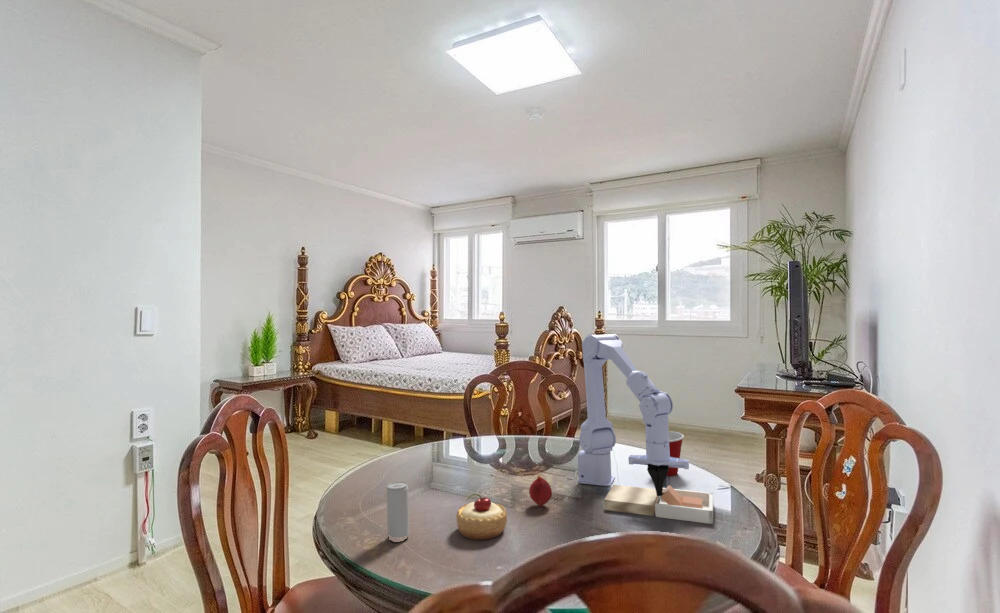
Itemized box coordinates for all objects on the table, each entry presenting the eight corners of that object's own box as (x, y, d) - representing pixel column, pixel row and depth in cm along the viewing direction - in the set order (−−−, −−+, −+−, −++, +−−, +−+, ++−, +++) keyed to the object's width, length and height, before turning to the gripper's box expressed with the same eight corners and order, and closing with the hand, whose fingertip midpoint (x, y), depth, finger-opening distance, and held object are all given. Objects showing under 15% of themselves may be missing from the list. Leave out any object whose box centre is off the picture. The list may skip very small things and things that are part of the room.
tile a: (660, 497, 121) (668, 490, 120) (662, 491, 125) (669, 484, 124) (675, 511, 119) (682, 505, 119) (676, 505, 124) (683, 498, 123)
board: (604, 509, 123) (604, 499, 123) (613, 493, 134) (613, 484, 134) (654, 516, 118) (653, 505, 118) (659, 499, 129) (658, 489, 129)
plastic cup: (641, 471, 153) (639, 432, 153) (669, 466, 157) (667, 429, 157) (664, 481, 143) (662, 440, 143) (693, 476, 147) (691, 436, 147)
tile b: (682, 512, 118) (682, 502, 119) (683, 506, 123) (683, 496, 123) (702, 515, 117) (702, 504, 117) (702, 508, 121) (702, 498, 121)
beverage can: (389, 534, 112) (388, 482, 112) (410, 533, 112) (409, 481, 113) (386, 544, 107) (385, 489, 107) (408, 542, 107) (406, 487, 108)
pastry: (512, 541, 108) (512, 501, 108) (459, 546, 105) (459, 506, 105) (501, 518, 120) (501, 482, 120) (453, 523, 117) (453, 486, 117)
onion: (554, 503, 128) (553, 472, 128) (549, 511, 123) (548, 479, 123) (533, 501, 130) (532, 471, 130) (527, 509, 125) (526, 477, 125)
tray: (655, 516, 117) (655, 504, 117) (660, 498, 129) (660, 487, 129) (713, 524, 112) (712, 511, 112) (713, 504, 124) (712, 492, 124)
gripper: (625, 442, 123) (627, 496, 122) (686, 446, 117) (689, 503, 116) (630, 436, 129) (632, 487, 129) (688, 440, 123) (690, 493, 123)
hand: (659, 494), depth 123 cm, fingers closed
